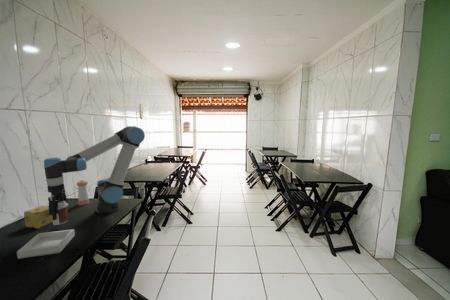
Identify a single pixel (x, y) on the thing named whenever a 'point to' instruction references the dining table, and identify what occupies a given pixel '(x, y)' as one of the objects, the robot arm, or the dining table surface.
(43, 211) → the cheese
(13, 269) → the dining table surface
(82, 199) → the salt shaker
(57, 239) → the white square tray
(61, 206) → the coffee cup
